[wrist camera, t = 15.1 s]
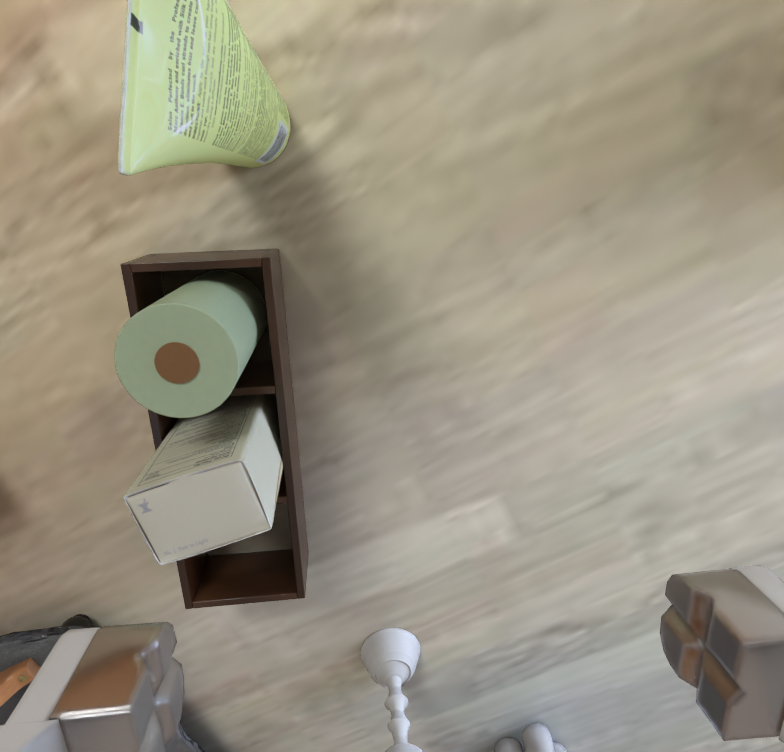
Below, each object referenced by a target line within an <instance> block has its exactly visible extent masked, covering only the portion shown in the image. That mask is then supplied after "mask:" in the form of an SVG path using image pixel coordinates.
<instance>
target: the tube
mask: <svg viewBox="0 0 784 752" xmlns="http://www.w3.org/2000/svg"><path fill="white" fill-rule="evenodd" d="M289 134H290V118H289V113H288V109H287V107H286V105H285V102H284V100H283V99H282V97H281V95H280V93H279V92H278V90H277V88H276V87H275V85H274V83H273V82H272V80H271V78H270V76H269V75H268V73H267V71H266V69H265V68H264V66H263V64H262V63H261V61H260V59H259V58H258V56H257V54H256V52H255V50H254V49H253V47H252V45H251V43H250V42H249V40H248V38H247V36H246V34H245V33H244V31H243V29H242V27H241V25H240V24H239V22H238V20H237V18H236V16H235V15H234V13H233V11H232V9H231V8H230V6H229V4H228V2H227V0H127V16H126V31H125V46H124V61H123V81H122V100H121V113H120V127H119V146H118V171H119V173H120V174H122V175H134V174H137V173H140V172H144V171H147V170H151V169H156V168H161V167H166V166H173V165H183V164H196V163H219V164H229V165H235V166H240V167H247V168H255V167H261V166H264V165H267V164H269V163H270V162H272V161H274V160H275V159H276V158H277V157H278V156H279V155H280V154H281V153H282V151H283V150H284V148H285V146H286V144H287V142H288V138H289Z"/></svg>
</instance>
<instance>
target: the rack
mask: <svg viewBox="0 0 784 752" xmlns="http://www.w3.org/2000/svg"><path fill="white" fill-rule="evenodd" d="M246 267H262V271H263V280H264V289H265V299H266V308H267V317H268V326H269V336H270V345H271V354H272V362H269V363H252V364H246V366H245V368H244V370H243V372H242V374H241V375H240V377H239V379H238V381H237V383H236V385H235V387H234V389H233V390H232V392H231V394H230V395H229V396H244V395H260V394H275V393H276V401H277V410H278V420H279V429H280V438H281V448H282V457H283V470H282V475H281V481H280V486H279V492H278V497H277V502H276V504H282V503H288V513H289V522H290V531H291V541H292V549H290V550H278V551H266V552H254V553H242V554H231V555H219V556H209V557H208V552H204V553H201V554H198V555H195V556H191V557H188V558H185V559H182V560H178V561H177V566H178V571H179V576H180V582H181V587H182V592H183V598H184V603H185V608H186V609H190V608H201V607H212V606H223V605H234V604H245V603H256V602H266V601H277V600H288V599H297V598H298V599H299V598H305V590H306V578H307V566H308V542H307V532H306V522H305V511H304V501H303V491H302V480H301V470H300V459H299V449H298V439H297V428H296V418H295V408H294V397H293V387H292V377H291V366H290V356H289V345H288V335H287V325H286V314H285V304H284V294H283V283H282V273H281V263H280V252H279V249H259V250H235V251H211V252H188V253H164V254H149V255H146V256H143V257H140V258H137V259H134V260H131V261H128V262H125V263H122V264H121V269H122V275H123V280H124V285H125V290H126V296H127V301H128V306H129V312H130V317H133V316H134V315H135V314H136V313H138V312H140V311H141V310H143V309H144V308H146V307H148V306H149V305H151V304H153V303H154V302H156V301H158V300H159V299H161V298H163V297H164V296H165V294H164V288H163V282H162V276H161V271H179V270H201V269H224V268H246ZM148 412H149V417H150V423H151V428H152V433H153V439H154V444H155V449H156V450H157V449H158V447H159V446H160V444H161V443H162V442H163V440H164V439H165V437H166V436H167V435H168V433H169V432H170V430H171V429H172V428H173V426H174V425H175V423H176V422H177V420H178V419H179V418H175V417H168V416H164V415H161V414H158V413H155V412H153V411H151V410H149V409H148Z"/></svg>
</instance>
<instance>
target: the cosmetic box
mask: <svg viewBox="0 0 784 752" xmlns="http://www.w3.org/2000/svg"><path fill="white" fill-rule="evenodd" d="M282 470H283V457H282V448H281V438H280V429H279V420H278V410H277V401H276V398H275V396H274V394H260V395H244V396H228V398H227V399H226V400H225V401H224V402H223V403H222V404H221V405H220V406H218V407H217V408H216V409H214V410H212V411H210V412H208V413H206V414H203V415H200V416H196V417H190V418H179V419H178V420H177V422H176V423H175V425H174V426H173V428H172V429H171V430H170V432H169V433H168V435H167V436H166V437H165V439H164V440H163V442H162V443H161V444H160V446H159V447H158V449H157V450H156V451H155V453H154V454H153V456H152V457H151V458H150V460H149V461H148V463H147V464H146V466H145V467H144V468H143V470H142V471H141V473H140V474H139V475H138V477H137V478H136V480H135V481H134V482H133V484H132V485H131V487H130V488H129V489H128V491H127V492H126V494H125V495H124V497H123V499H124V501H125V502H126V504H127V506H128V508H129V511H130V512H131V514H132V516H133V518H134V520H135V522H136V524H137V526H138V528H139V530H140V531H141V533H142V535H143V537H144V539H145V541H146V543H147V545H148V546H149V548H150V550H151V551H152V553H153V555H154V557H155V558H156V560H157V562H158V563H159V564H160V565H163V564H167V563H171V562H175V561H178V560H182V559H185V558H188V557H191V556H195V555H198V554H201V553H204V552H207V551H210V550H214V549H216V548H219V547H222V546H226V545H228V544H231V543H234V542H237V541H241V540H243V539H246V538H249V537H252V536H255V535H258V534H261V533H264V532H266V531H269V530H271V529H272V524H273V519H274V513H275V507H276V502H277V497H278V492H279V486H280V481H281V475H282Z"/></svg>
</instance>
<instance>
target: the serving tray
mask: <svg viewBox="0 0 784 752" xmlns="http://www.w3.org/2000/svg"><path fill="white" fill-rule="evenodd" d="M83 628H91V621H90V619H89V617H87V616H86V615H83V614H78V615H75V616H74V617H71V618H69V619H68V620H66V621H65V622H64V623H63V625H62V626H59V627H52V628H47V629H38V630H31V631H23V632H13V633H10V634H7V635H2V636H0V725H5V723H6V722H7V720H8V719H9V717H10V715H11V714H12V712H13V711H14V709H15V708H16V706H17V704H18V703H19V701H20V700H21V698H22V696H23V695H24V693H25V692H26V690H27V688H28V687H29V685H30V684H31V682H32V681H33V679H34V677H35V676H36V674H37V673H38V671H39V669H40V668H41V666H42V665H43V663H44V662H45V660H46V658H47V657H48V655H49V654H50V652H51V650H52V649H53V647H54V646H55V644H56V643H57V641H58V639H59V638H60V637H61V635H63V634H64V633H66V632H67V631H68V630H70V629H83ZM165 750H166V752H204V751H203V750H202V749H201V748H200V747H199V745H198V744H197V742H195V741H194V740H193V739H192V738H191V737H190V736H189V735H188V734H187V733H186V732H185V731H184V729H183V727H182V725H181V724H180V723H179V726H178V729H177V732H176V733H175V735H174V736H173V737H172V738H171V739H170V740H169V741H168V742H167V743H166V744H165Z"/></svg>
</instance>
